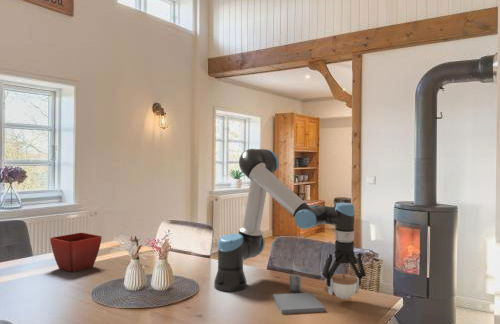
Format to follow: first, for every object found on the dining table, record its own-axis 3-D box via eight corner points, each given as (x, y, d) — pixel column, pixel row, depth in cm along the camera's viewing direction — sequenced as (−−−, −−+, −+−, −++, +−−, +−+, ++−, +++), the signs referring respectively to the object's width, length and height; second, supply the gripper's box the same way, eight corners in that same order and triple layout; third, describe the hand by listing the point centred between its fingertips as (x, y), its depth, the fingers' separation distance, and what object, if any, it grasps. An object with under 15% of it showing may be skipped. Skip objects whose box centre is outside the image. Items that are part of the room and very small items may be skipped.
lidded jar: (352, 303, 152) (352, 279, 152) (326, 297, 158) (326, 274, 158) (360, 295, 161) (360, 272, 161) (335, 289, 167) (335, 268, 167)
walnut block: (330, 294, 169) (330, 282, 169) (324, 290, 173) (324, 279, 173) (342, 292, 171) (342, 281, 171) (335, 289, 175) (335, 278, 175)
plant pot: (102, 266, 211) (102, 235, 211) (70, 275, 195) (70, 242, 194) (81, 261, 221) (81, 232, 221) (49, 269, 205) (49, 237, 205)
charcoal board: (281, 313, 147) (281, 309, 147) (272, 297, 164) (272, 294, 164) (324, 311, 149) (324, 307, 149) (311, 296, 166) (311, 292, 166)
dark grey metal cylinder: (291, 293, 169) (291, 277, 169) (288, 290, 174) (288, 274, 174) (302, 293, 169) (302, 277, 169) (299, 289, 174) (299, 274, 174)
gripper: (320, 243, 154) (319, 297, 154) (375, 242, 157) (373, 295, 157) (314, 238, 161) (313, 291, 161) (366, 238, 164) (365, 289, 165)
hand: (343, 293), depth 159 cm, fingers closed on lidded jar, 11 cm apart
